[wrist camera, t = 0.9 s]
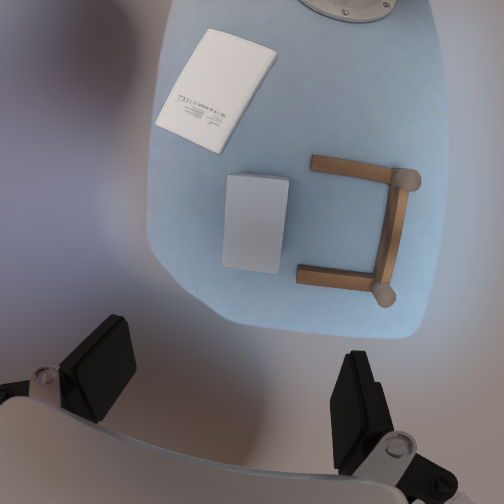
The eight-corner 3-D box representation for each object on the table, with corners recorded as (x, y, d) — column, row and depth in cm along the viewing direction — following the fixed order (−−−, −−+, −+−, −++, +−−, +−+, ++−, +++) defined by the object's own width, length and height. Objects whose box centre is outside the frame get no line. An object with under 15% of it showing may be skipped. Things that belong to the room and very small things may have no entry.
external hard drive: (278, 57, 24) (221, 155, 28) (212, 32, 24) (159, 125, 28) (277, 51, 22) (218, 154, 27) (208, 27, 22) (152, 123, 26)
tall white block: (240, 172, 28) (227, 174, 22) (289, 177, 27) (289, 180, 22) (234, 247, 30) (221, 267, 25) (281, 253, 30) (278, 274, 24)
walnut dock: (312, 153, 26) (316, 151, 22) (404, 170, 25) (422, 172, 21) (296, 279, 30) (296, 298, 26) (381, 289, 29) (392, 308, 25)
